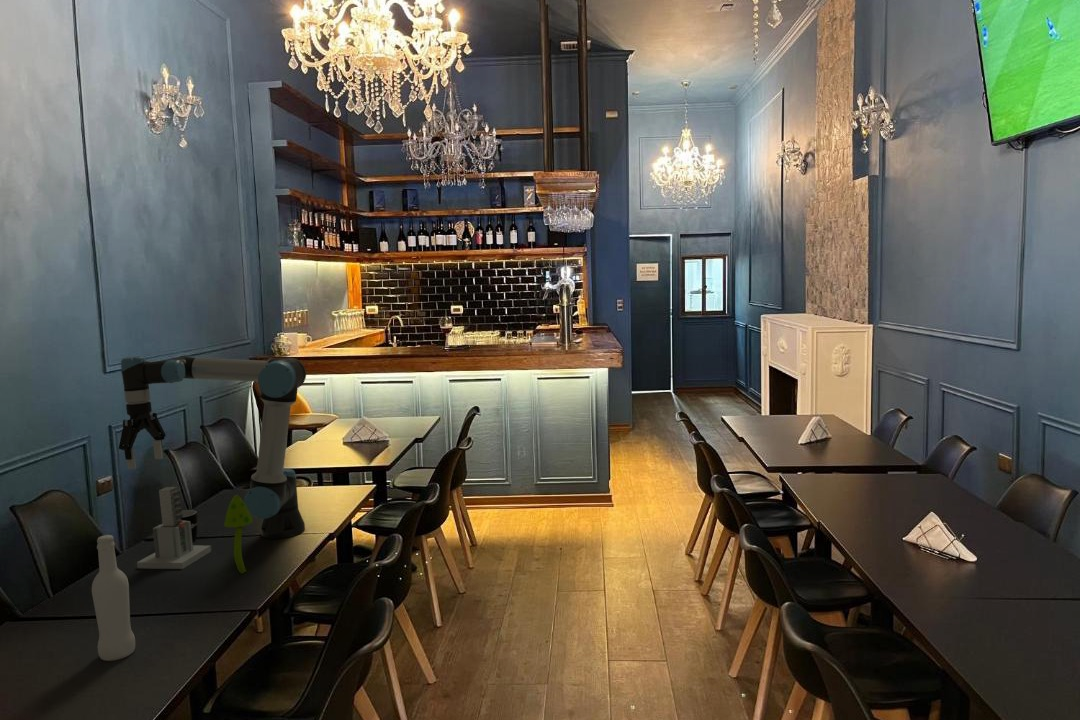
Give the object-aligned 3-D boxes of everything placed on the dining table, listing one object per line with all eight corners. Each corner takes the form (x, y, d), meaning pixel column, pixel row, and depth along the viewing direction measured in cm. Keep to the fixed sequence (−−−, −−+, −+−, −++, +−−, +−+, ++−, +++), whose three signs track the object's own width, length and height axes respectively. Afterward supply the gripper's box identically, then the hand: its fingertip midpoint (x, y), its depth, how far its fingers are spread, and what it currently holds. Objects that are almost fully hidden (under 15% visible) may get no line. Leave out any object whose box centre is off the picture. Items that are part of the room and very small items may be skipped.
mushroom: (263, 569, 244) (256, 492, 242) (242, 578, 237) (235, 499, 234) (243, 566, 248) (236, 490, 245) (222, 575, 240) (215, 497, 238)
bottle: (108, 647, 194) (95, 532, 191) (141, 645, 195) (129, 529, 192) (92, 663, 186) (78, 543, 183) (127, 660, 187) (114, 540, 184)
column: (186, 551, 258) (179, 486, 256) (178, 555, 254) (172, 490, 252) (172, 550, 259) (166, 486, 257) (165, 555, 255) (158, 490, 252)
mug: (192, 545, 271) (189, 517, 269) (166, 546, 271) (164, 518, 270) (207, 534, 282) (205, 507, 281) (183, 534, 283) (181, 507, 282)
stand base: (211, 551, 263) (207, 515, 262) (182, 568, 248) (179, 530, 246) (168, 550, 266) (164, 515, 265) (137, 568, 250) (133, 530, 249)
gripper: (153, 396, 274) (160, 455, 276) (101, 409, 250) (109, 473, 252) (172, 395, 273) (179, 454, 275) (121, 408, 248) (129, 472, 251)
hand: (145, 463), depth 264 cm, fingers open, 13 cm apart
